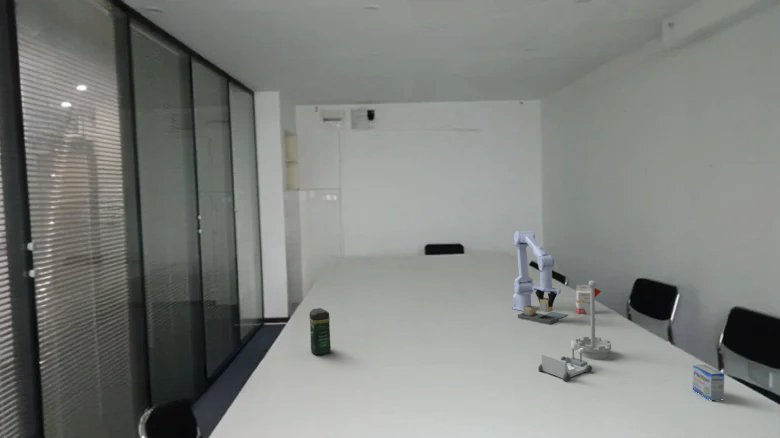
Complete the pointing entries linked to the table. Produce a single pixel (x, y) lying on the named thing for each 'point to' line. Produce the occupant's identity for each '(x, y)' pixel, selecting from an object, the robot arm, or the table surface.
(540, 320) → the grey flat rectangular frame
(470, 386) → the table surface
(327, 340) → the coffee jar
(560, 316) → the slate mat
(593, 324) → the flag stand
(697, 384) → the medicine box
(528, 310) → the gold drawer
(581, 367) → the toy car
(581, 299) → the ink cartridge box
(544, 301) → the gold knob block
